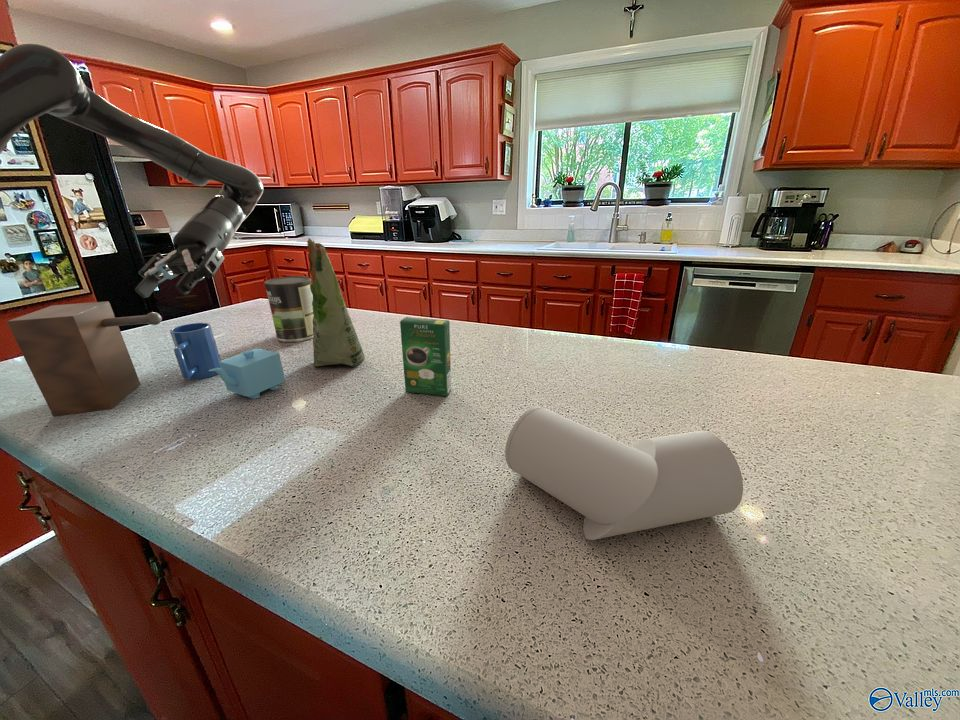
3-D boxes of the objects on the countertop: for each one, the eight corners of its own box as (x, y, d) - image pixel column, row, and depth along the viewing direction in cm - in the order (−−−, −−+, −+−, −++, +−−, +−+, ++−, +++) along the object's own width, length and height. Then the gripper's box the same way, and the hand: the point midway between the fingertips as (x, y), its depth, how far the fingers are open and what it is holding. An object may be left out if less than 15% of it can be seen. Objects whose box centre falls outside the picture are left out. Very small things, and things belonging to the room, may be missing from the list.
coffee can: (287, 345, 93) (274, 286, 88) (270, 336, 100) (257, 280, 94) (328, 334, 100) (318, 279, 95) (309, 327, 107) (299, 274, 101)
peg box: (53, 416, 64) (6, 321, 58) (89, 390, 73) (52, 305, 67) (168, 401, 68) (136, 310, 62) (190, 378, 77) (163, 297, 71)
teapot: (231, 411, 64) (218, 368, 61) (209, 403, 67) (196, 362, 64) (293, 382, 74) (285, 344, 71) (271, 376, 77) (263, 340, 74)
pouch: (346, 375, 76) (324, 241, 67) (295, 369, 80) (267, 240, 70) (376, 355, 86) (361, 235, 77) (330, 350, 90) (309, 235, 80)
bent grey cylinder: (551, 582, 33) (753, 538, 37) (546, 464, 31) (759, 430, 35) (498, 485, 50) (640, 461, 54) (493, 405, 48) (640, 386, 52)
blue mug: (192, 369, 81) (177, 324, 78) (227, 364, 83) (214, 321, 79) (169, 392, 71) (151, 343, 67) (209, 387, 73) (194, 339, 69)
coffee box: (454, 390, 70) (450, 318, 65) (448, 397, 67) (444, 323, 62) (411, 386, 72) (404, 316, 67) (405, 393, 69) (397, 320, 64)
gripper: (161, 224, 78) (108, 279, 68) (223, 216, 75) (178, 273, 66) (189, 254, 84) (144, 310, 74) (248, 248, 81) (210, 305, 71)
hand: (160, 292), depth 70 cm, fingers open, 8 cm apart
